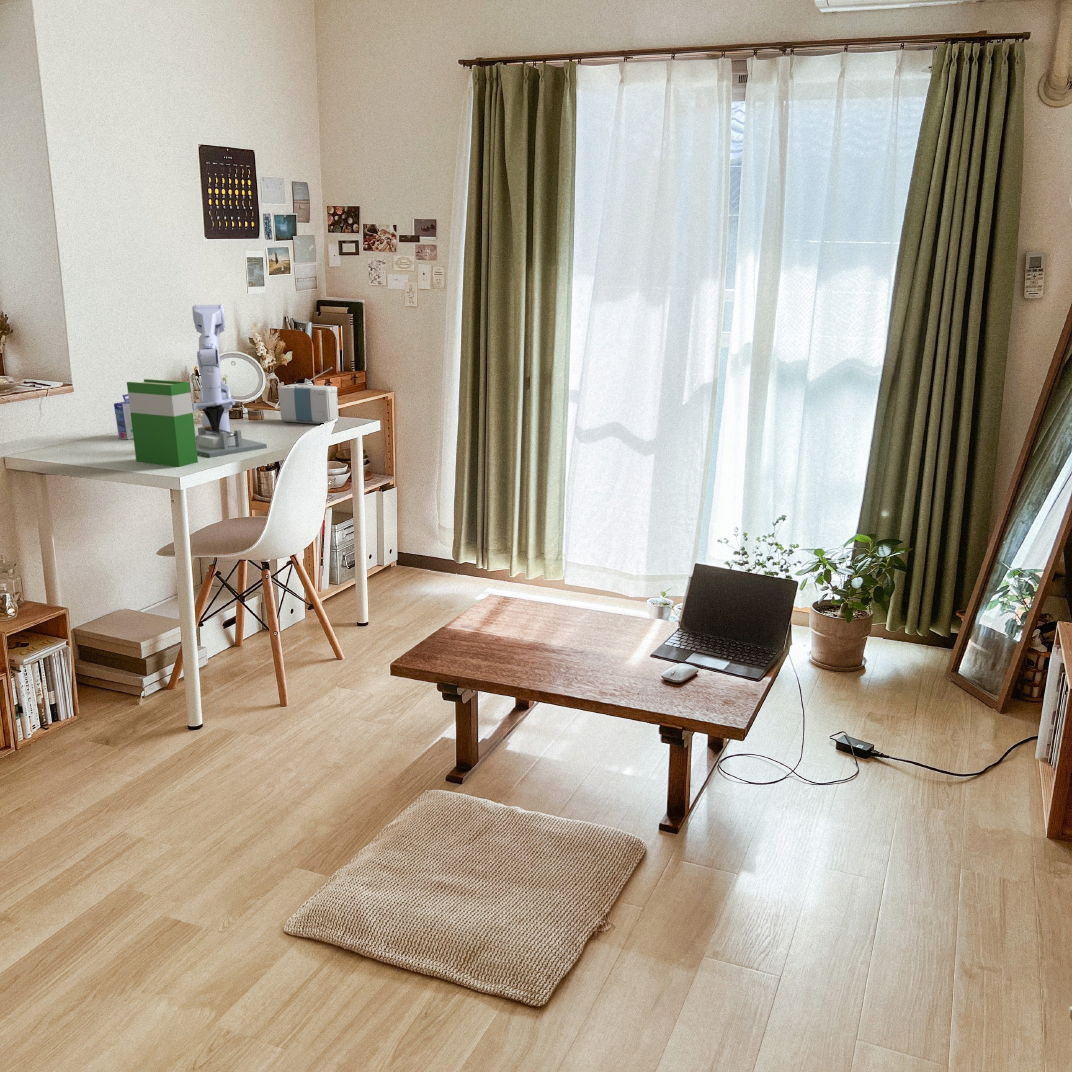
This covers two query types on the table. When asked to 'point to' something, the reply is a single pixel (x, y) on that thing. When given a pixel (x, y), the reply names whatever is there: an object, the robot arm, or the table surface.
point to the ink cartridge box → (123, 419)
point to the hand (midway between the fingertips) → (215, 429)
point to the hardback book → (162, 422)
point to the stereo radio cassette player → (308, 403)
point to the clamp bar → (229, 434)
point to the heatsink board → (223, 443)
